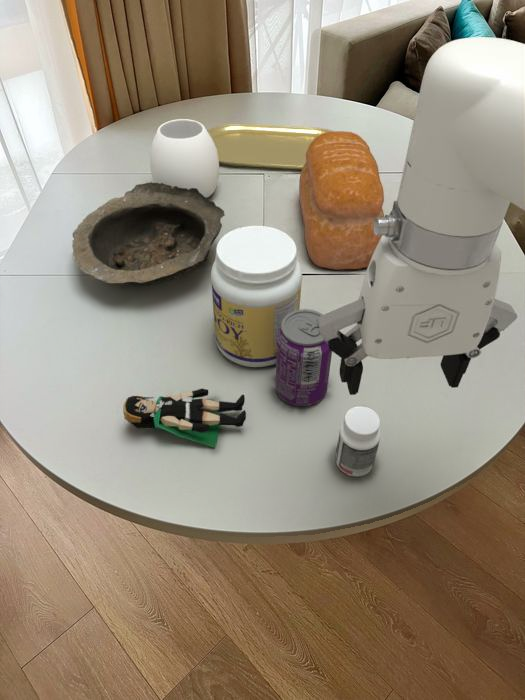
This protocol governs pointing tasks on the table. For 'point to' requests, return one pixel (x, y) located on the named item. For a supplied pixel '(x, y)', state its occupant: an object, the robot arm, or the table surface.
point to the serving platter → (263, 145)
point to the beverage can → (301, 359)
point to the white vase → (185, 156)
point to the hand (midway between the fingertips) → (399, 379)
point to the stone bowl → (147, 235)
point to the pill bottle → (358, 441)
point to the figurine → (184, 415)
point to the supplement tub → (253, 292)
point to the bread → (340, 201)
